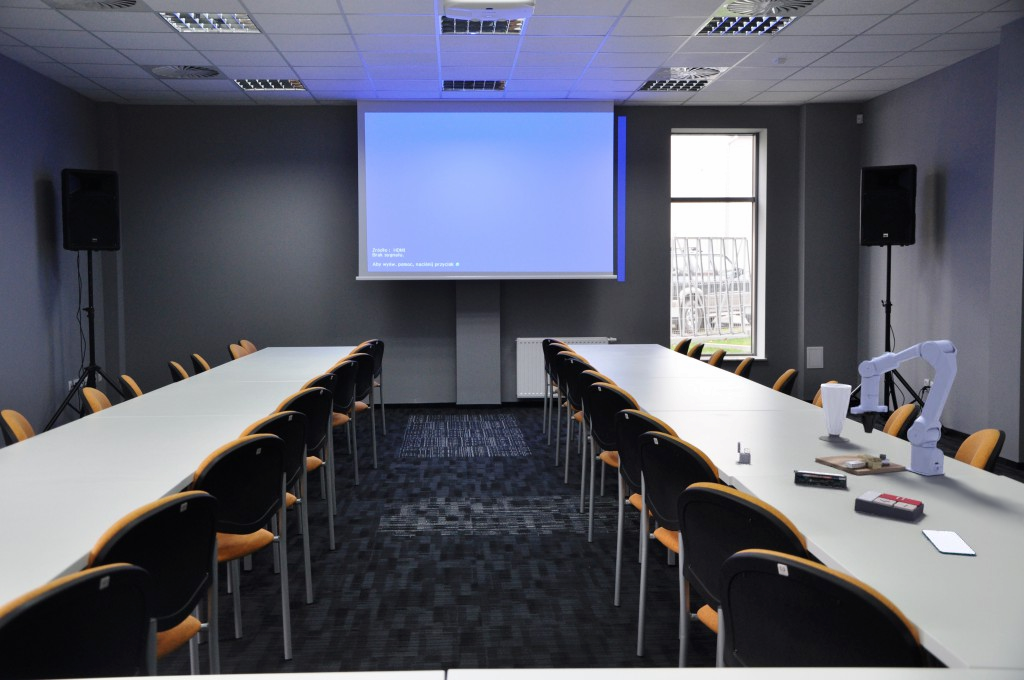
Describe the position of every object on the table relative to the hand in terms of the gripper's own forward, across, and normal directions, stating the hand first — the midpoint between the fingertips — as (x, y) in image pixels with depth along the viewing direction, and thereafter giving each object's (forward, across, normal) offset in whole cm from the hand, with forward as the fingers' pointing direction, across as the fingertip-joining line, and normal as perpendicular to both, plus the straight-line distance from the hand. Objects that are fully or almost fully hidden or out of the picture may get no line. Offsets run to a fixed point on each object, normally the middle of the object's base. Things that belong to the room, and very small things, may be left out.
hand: (868, 432), depth 277 cm
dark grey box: (+10, +42, +51) cm, 67 cm away
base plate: (+9, +10, +7) cm, 15 cm away
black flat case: (+10, +39, +25) cm, 47 cm away
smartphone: (+10, +48, +76) cm, 91 cm away
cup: (+10, -13, -31) cm, 35 cm away
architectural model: (+10, +39, -13) cm, 43 cm away
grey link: (+8, +11, +12) cm, 19 cm away
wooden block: (+8, +12, +13) cm, 19 cm away
